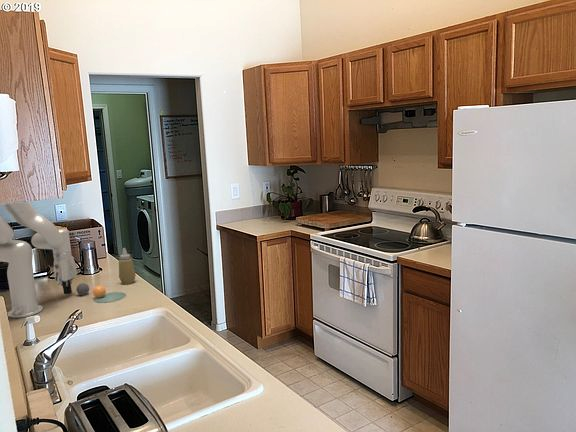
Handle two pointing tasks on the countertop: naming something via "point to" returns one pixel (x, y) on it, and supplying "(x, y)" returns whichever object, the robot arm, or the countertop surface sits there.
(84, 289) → the dark gray ball
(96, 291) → the object ball
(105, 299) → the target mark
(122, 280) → the squeeze bottle
